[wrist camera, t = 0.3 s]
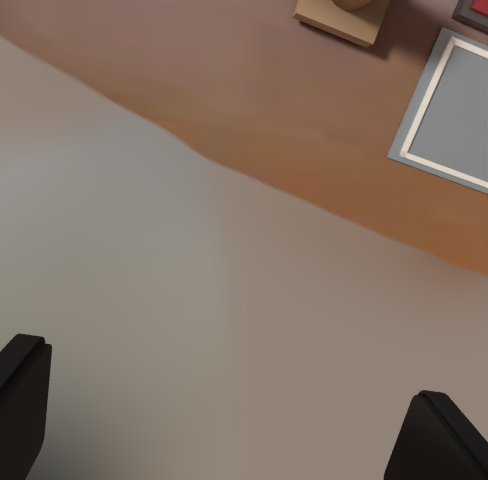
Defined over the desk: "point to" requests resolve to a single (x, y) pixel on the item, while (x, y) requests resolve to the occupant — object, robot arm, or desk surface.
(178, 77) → the desk surface
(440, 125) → the board
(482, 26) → the ink pad
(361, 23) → the stamp
